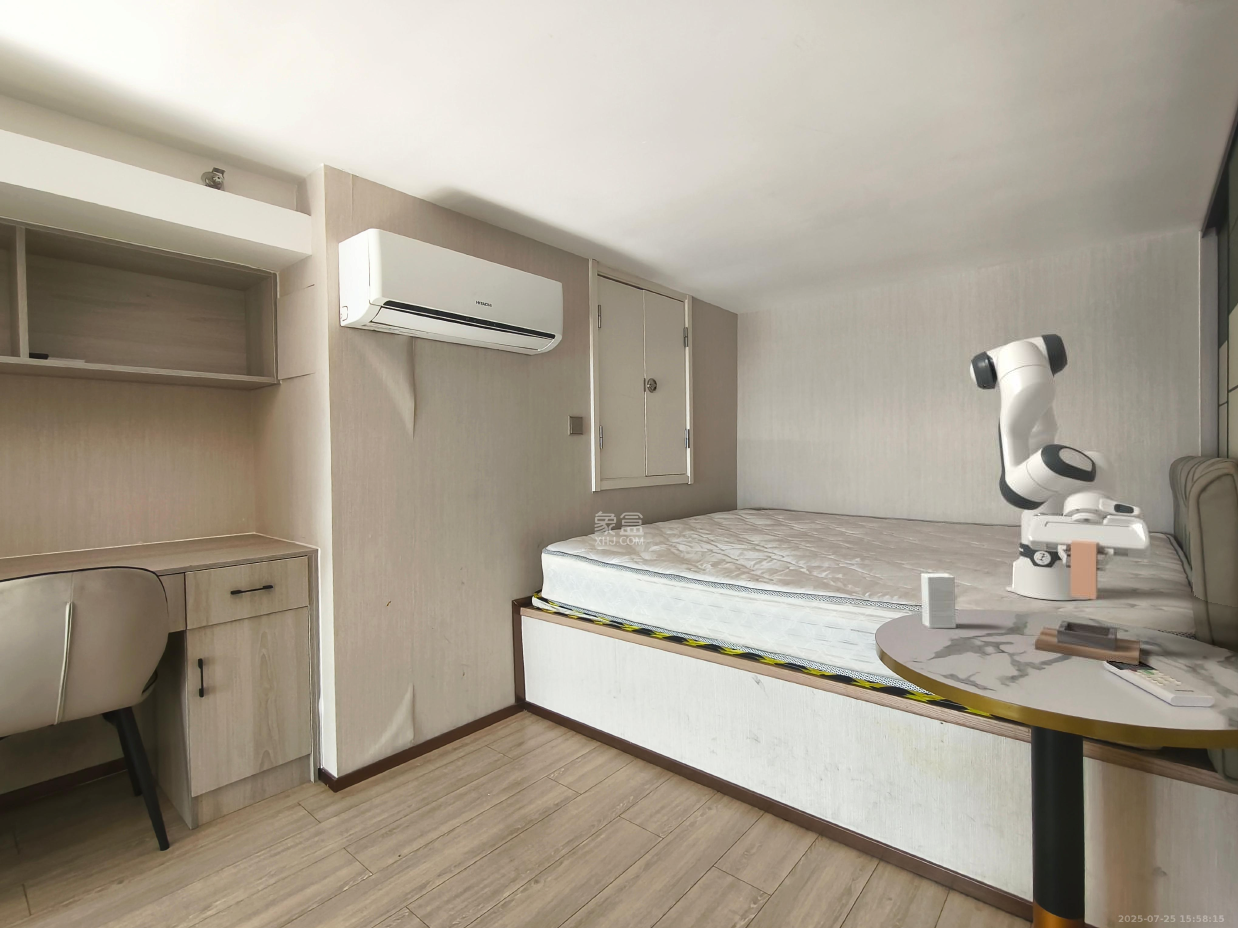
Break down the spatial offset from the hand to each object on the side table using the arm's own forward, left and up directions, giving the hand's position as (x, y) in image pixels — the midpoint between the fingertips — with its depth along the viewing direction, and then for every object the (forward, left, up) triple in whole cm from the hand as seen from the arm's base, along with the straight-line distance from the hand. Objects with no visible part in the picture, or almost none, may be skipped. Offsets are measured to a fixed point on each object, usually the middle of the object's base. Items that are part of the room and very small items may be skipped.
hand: (1083, 567), depth 122 cm
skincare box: (0, -27, -17) cm, 32 cm away
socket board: (-1, 0, -17) cm, 17 cm away
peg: (-1, 0, -6) cm, 6 cm away
